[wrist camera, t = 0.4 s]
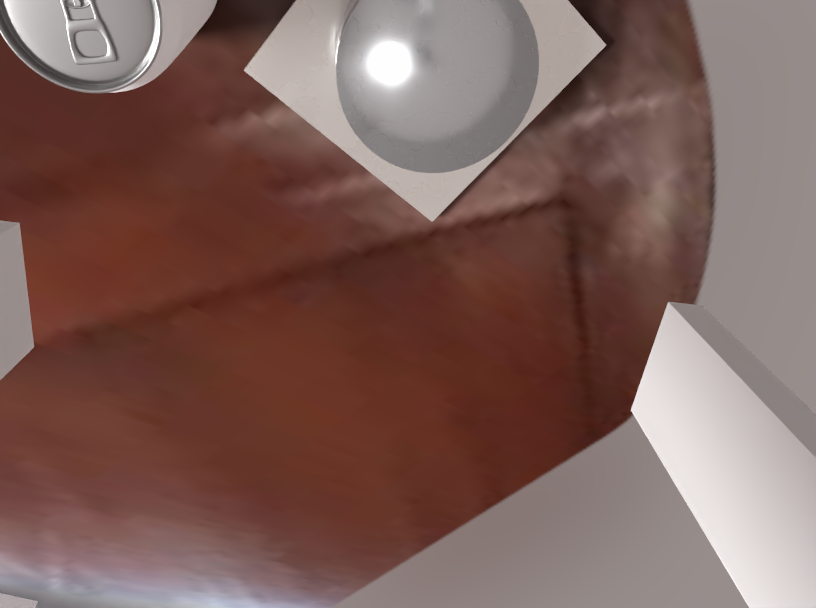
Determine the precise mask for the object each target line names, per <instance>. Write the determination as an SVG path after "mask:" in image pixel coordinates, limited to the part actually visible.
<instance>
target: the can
mask: <svg viewBox="0 0 816 608" xmlns="http://www.w3.org/2000/svg"><path fill="white" fill-rule="evenodd" d="M216 3H217V0H0V33H1V35H2V37H3V38H4V40H5V41H6V43H7V44H8V45H9V47H10V48H11V49H12V50H13V52H14V53H15V54H16V55H17V56H18V57H19V58H20V59H21V60H22V61H23V62H24V63H25V64H26V65H27V66H28V67H30V68H31V69H32V70H33V71H35V72H36V73H38V74H39V75H41V76H42V77H44V78H45V79H47V80H49V81H51V82H53V83H55V84H57V85H59V86H62V87H64V88H67V89H71V90H74V91H79V92H85V93H108V92H122V91H128V90H132V89H135V88H138V87H140V86H143V85H145V84H147V83H148V82H150V81H152V80H153V79H155V78H156V77H157V76H159V75H160V74H161V73H162V72H163V71H164V70H165V69H166V68H167V67H168V66H169V65H170V64H171V63H172V62H173V61H174V59H175V58H176V57H177V56H178V55H179V54H180V53H181V51H182V50H183V49H184V48H185V47H186V45H187V44H188V43H189V42H190V41H191V40H192V38H193V37H194V36H195V35H196V33H197V32H198V31H199V30H200V29H201V27H202V26H203V25H204V24H205V22H206V21H207V20H208V18H209V17H210V15H211V14H212V12H213V10H214V8H215V6H216Z"/></svg>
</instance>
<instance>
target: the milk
mask: <svg viewBox="0 0 816 608" xmlns="http://www.w3.org/2000/svg"><path fill="white" fill-rule="evenodd" d="M37 603H38V601H34V600H30V599H25V598H21V597H16V596H12V595H7V594H2V593H0V608H36V605H37Z"/></svg>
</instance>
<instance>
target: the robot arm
mask: <svg viewBox="0 0 816 608" xmlns="http://www.w3.org/2000/svg"><path fill="white" fill-rule="evenodd" d="M33 348H34V343H33V334H32V326H31V317H30V309H29V300H28V292H27V283H26V275H25V266H24V258H23V249H22V241H21V232H20V223H15V222H7V221H0V380H1V379H2V378H3V377H4V376H5V375H6V374H7V373H8V372H9V371H10V370H11V369H12V368H13V367H14V366H15V365H16V364H17V363H18V362H19V361H20V360H21V359H22V358H23V357H24V356H26V355H27V354H28V353H29V352H30V351H31V350H32V349H33ZM631 411H632V413H633V415H634V416H635V418H636V420H637V421H638V423H639V425H640V426H641V428H642V430H643V431H644V433H645V435H646V436H647V438H648V440H649V441H650V443H651V445H652V446H653V448H654V450H655V451H656V453H657V454H658V456H659V458H660V459H661V461H662V463H663V465H664V466H665V468H666V470H667V471H668V473H669V475H670V476H671V478H672V480H673V481H674V483H675V485H676V486H677V488H678V490H679V491H680V493H681V495H682V496H683V498H684V500H685V501H686V503H687V505H688V506H689V508H690V510H691V511H692V513H693V515H694V516H695V518H696V520H697V521H698V523H699V525H700V526H701V528H702V530H703V531H704V533H705V535H706V536H707V538H708V540H709V541H710V543H711V545H712V546H713V548H714V550H715V551H716V553H717V555H718V556H719V558H720V560H721V561H722V563H723V565H724V566H725V568H726V570H727V571H728V573H729V575H730V576H731V578H732V579H733V581H734V583H735V585H736V586H737V588H738V590H739V591H740V593H741V595H742V596H743V598H744V600H745V601H746V603H747V605H748V606H749V608H816V414H815V413H814V412H813V411H812V410H811V409H810V408H809V407H808V406H807V405H806V404H805V403H804V402H803V401H802V400H800V399H799V398H798V397H797V396H796V395H795V394H794V393H793V392H792V391H791V390H790V389H789V388H788V387H787V386H786V385H785V384H784V383H783V382H782V381H781V380H780V379H778V378H777V377H776V376H775V375H774V374H773V373H772V372H771V371H770V370H769V369H768V368H767V367H766V366H765V365H764V364H763V363H762V362H761V361H760V360H759V359H758V358H757V357H756V356H755V355H754V354H752V353H751V352H750V351H749V350H748V349H747V348H746V347H745V346H744V345H743V344H742V343H741V342H740V341H739V340H738V339H737V338H736V337H735V336H733V334H732V333H731V332H729V331H728V330H727V329H726V328H725V327H724V326H723V325H722V324H721V323H720V322H719V321H718V320H717V319H716V318H715V317H714V316H713V315H712V314H711V313H710V312H709V311H708V310H707V309H705V308H704V307H703V306H699V305H691V304H683V303H674V302H668V304H667V307H666V310H665V313H664V316H663V319H662V321H661V324H660V327H659V330H658V333H657V336H656V339H655V342H654V345H653V348H652V350H651V353H650V356H649V359H648V362H647V365H646V368H645V371H644V374H643V377H642V379H641V382H640V385H639V388H638V391H637V394H636V397H635V400H634V403H633V405H632V408H631Z"/></svg>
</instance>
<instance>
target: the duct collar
mask: <svg viewBox="0 0 816 608" xmlns="http://www.w3.org/2000/svg"><path fill="white" fill-rule="evenodd" d="M605 46H606V44H605V43H604V42H603V41H602V39H601V38H600V37H599V36H598V35H597V34H596V32H595V31H594V30H593V29H592V28H591V27H590V25H589V24H588V23H587V22H586V21H585V20H584V18H583V17H582V16H581V15H580V14H579V12H578V11H577V10H576V9H575V8H574V7H573V5H572V4H571V3H570V2H569V1H568V0H295V1H294V2H293V4H292V5H291V6H290V8H289V9H288V10H287V12H286V13H285V14H284V16H283V17H282V18H281V20H280V21H279V22H278V24H277V25H276V26H275V28H274V29H273V30H272V32H271V33H270V34H269V36H268V37H267V38H266V40H265V41H264V42H263V44H262V45H261V46H260V48H259V49H258V50H257V52H256V53H255V54H254V56H253V57H252V58H251V60H250V61H249V63H248V64H247V65H246V67H245V69H244V71H245V72H246V73H248V74H249V75H250V76H251V77H253V78H254V79H255V80H256V81H258V82H259V83H260V84H261V85H263V86H264V87H265V88H266V89H268V90H269V91H270V92H271V93H273V94H274V95H275V96H276V97H278V98H279V99H280V100H281V101H282V102H284V103H285V104H286V105H287V106H289V107H290V108H291V109H292V110H294V111H295V112H296V113H297V114H299V115H300V116H301V117H302V118H304V119H305V120H306V121H307V122H309V123H310V124H311V125H312V126H314V127H315V128H316V129H317V130H319V131H320V132H321V133H322V134H324V135H325V136H326V137H327V138H329V139H330V140H331V141H332V142H333V143H335V144H336V145H337V146H338V147H340V148H341V149H342V150H343V151H345V152H346V153H347V154H348V155H350V156H351V157H352V158H353V159H355V160H356V161H357V162H358V163H360V164H361V165H362V166H363V167H365V168H366V169H367V170H368V171H370V172H371V173H372V174H373V175H375V176H376V177H377V178H378V179H379V180H381V181H382V182H383V183H384V184H386V185H387V186H388V187H389V188H391V189H392V190H393V191H394V192H396V193H397V194H398V195H399V196H401V197H402V198H403V199H404V200H406V201H407V202H408V203H409V204H411V205H412V206H413V207H414V208H416V209H417V210H418V211H419V212H421V213H422V214H423V215H424V216H425V217H427V218H428V219H429V220H430V221H432V222H433V221H434V220H435V219H436V218H437V217H438V215H439V214H440V213H441V212H442V211H443V210H444V209H445V208H446V207H447V206H448V205H449V204H450V203H451V202H452V201H453V200H454V199H455V198H456V197H457V196H458V195H459V194H460V193H461V192H462V191H463V190H464V189H465V188H466V187H467V186H468V185H469V184H470V183H471V182H472V181H473V180H474V179H475V178H476V177H477V176H478V175H479V174H480V173H481V172H482V171H483V170H484V169H485V168H486V167H487V166H488V165H489V164H490V163H491V162H492V161H493V160H494V159H495V158H496V157H497V156H498V155H499V154H500V153H501V152H502V151H503V150H504V149H505V148H506V147H507V146H508V145H509V144H510V142H511V141H512V140H513V139H514V138H515V137H516V136H517V135H518V134H519V133H520V132H521V131H522V130H523V129H524V128H525V127H526V126H527V125H528V124H529V123H530V122H531V121H532V120H533V119H534V118H535V117H536V116H537V115H538V114H539V113H540V112H541V111H542V110H543V109H544V108H545V107H546V106H547V105H548V104H549V103H550V102H551V101H552V100H553V99H554V98H555V97H556V96H557V95H558V94H559V93H560V92H561V91H562V90H563V89H564V88H565V87H566V86H567V85H568V84H569V83H570V82H571V81H572V80H573V79H574V78H575V77H576V76H577V75H578V74H579V73H580V72H581V70H582V69H583V68H584V67H585V66H586V65H587V64H588V63H589V62H590V61H591V60H592V59H593V58H594V57H595V56H596V55H597V54H598V53H599V52H600V51H601V50H602V49H603V48H604V47H605Z"/></svg>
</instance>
